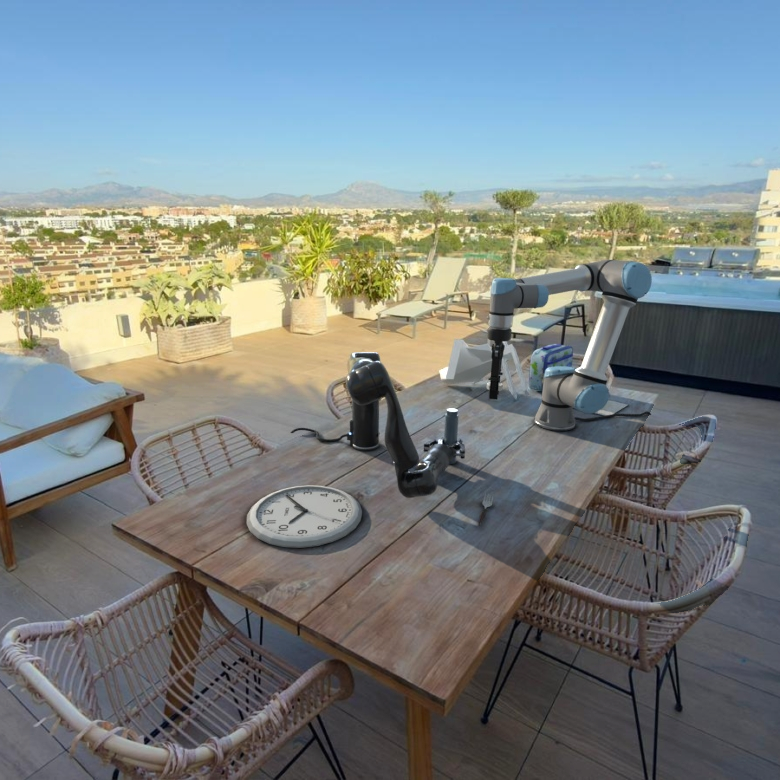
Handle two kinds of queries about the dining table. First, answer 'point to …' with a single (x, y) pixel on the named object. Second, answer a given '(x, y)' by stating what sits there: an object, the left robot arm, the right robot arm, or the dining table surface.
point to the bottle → (451, 428)
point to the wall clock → (304, 516)
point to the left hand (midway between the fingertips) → (452, 440)
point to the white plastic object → (479, 365)
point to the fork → (485, 504)
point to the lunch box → (548, 362)
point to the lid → (498, 387)
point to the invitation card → (611, 408)
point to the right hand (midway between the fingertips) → (493, 396)
